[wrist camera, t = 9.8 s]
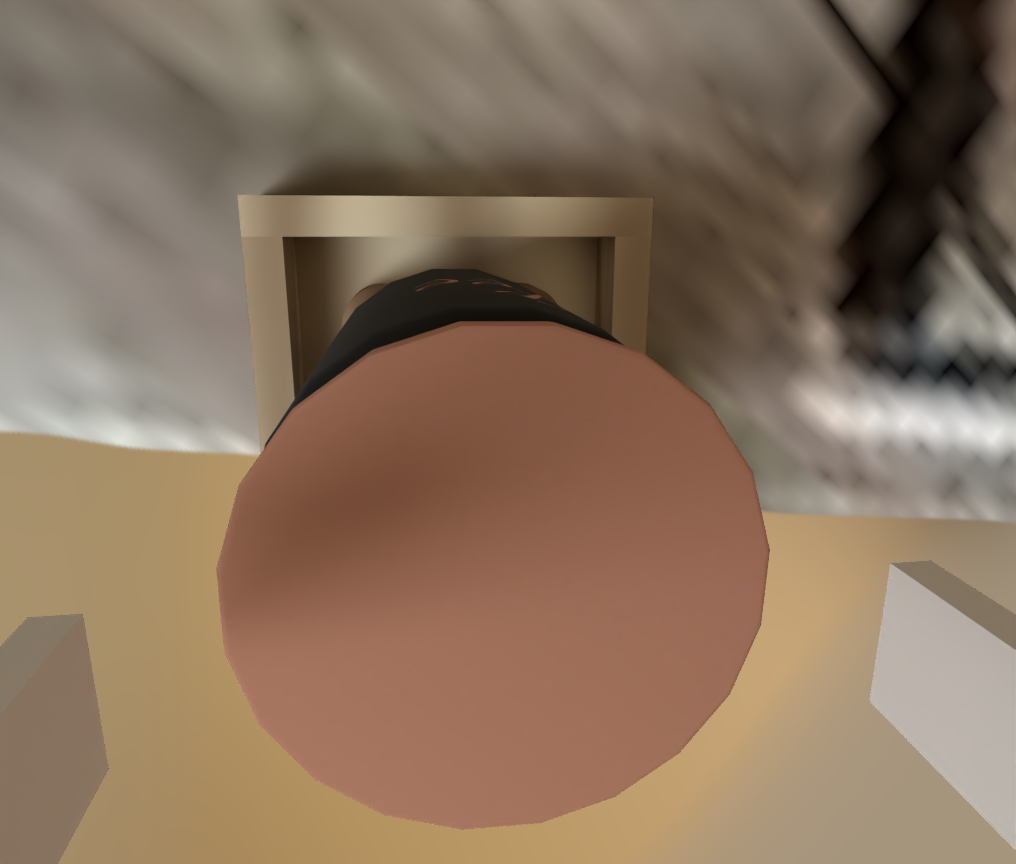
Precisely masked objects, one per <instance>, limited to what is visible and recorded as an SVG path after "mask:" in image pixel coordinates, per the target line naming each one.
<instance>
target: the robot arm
mask: <svg viewBox="0 0 1016 864" xmlns="http://www.w3.org/2000/svg"><path fill="white" fill-rule="evenodd" d="M870 702H871V703H872V704H873V705H874V706H875V707H876V708H877V709H878V710H879V711H880V712H881V713H882V715H883V716H884V717H886V718H887V720H888V721H889V722H890V723H891V724H893V726H894V727H895V728H896V729H897V730H898V731H899V732H900V733H901V734H902V735H903V736H904V737H905V738H906V739H907V740H908V741H909V742H910V743H911V744H912V745H913V746H914V747H915V748H916V749H917V750H918V751H919V752H920V753H921V754H922V755H923V756H924V757H925V758H926V759H927V760H928V761H929V762H930V763H931V764H932V766H933V767H934V768H935V769H936V770H937V771H938V772H939V773H940V774H941V775H942V776H943V777H944V778H945V779H946V780H947V781H948V782H949V783H950V784H951V785H952V786H953V787H954V788H955V789H956V790H957V791H958V792H959V793H960V794H961V795H962V796H963V797H964V798H965V799H966V800H967V801H968V802H969V803H970V804H971V805H972V806H973V807H974V808H975V809H976V810H977V811H978V813H980V814H981V816H982V817H983V818H985V820H987V822H988V823H990V825H991V826H992V827H993V828H994V829H995V830H996V831H997V832H998V833H999V834H1000V835H1001V836H1002V837H1003V838H1004V839H1005V840H1006V841H1007V842H1008V843H1009V844H1010V845H1011V846H1012V847H1013V848H1014V849H1015V850H1016V615H1015V614H1013V613H1012V612H1011V611H1009V610H1008V609H1006V608H1004V607H1003V606H1001V605H1000V604H998V603H996V602H995V601H993V600H992V599H990V598H989V597H987V596H985V595H984V594H982V593H981V592H979V591H978V590H976V589H975V588H973V587H971V586H969V585H968V584H967V583H965V582H964V581H962V580H960V579H959V578H957V577H956V576H954V575H952V574H951V573H949V572H948V571H946V570H945V569H943V568H942V567H940V566H938V565H937V564H935V563H934V562H932V561H919V562H903V563H891V564H890V570H889V576H888V583H887V590H886V596H885V603H884V610H883V616H882V623H881V629H880V636H879V643H878V649H877V656H876V662H875V669H874V675H873V682H872V689H871V695H870ZM108 769H109V768H108V762H107V756H106V750H105V744H104V739H103V733H102V726H101V721H100V714H99V709H98V703H97V697H96V691H95V685H94V679H93V673H92V667H91V661H90V655H89V649H88V643H87V637H86V631H85V625H84V619H83V614H75V615H60V616H43V617H28V618H27V619H26V620H25V621H24V622H23V623H22V624H21V625H20V626H19V627H18V628H17V629H16V630H15V631H14V632H13V634H12V635H11V636H10V637H9V638H8V639H7V640H6V641H5V642H4V643H3V644H2V645H1V646H0V864H58V862H59V860H60V859H61V857H62V855H63V853H64V851H65V849H66V847H67V846H68V843H69V842H70V840H71V838H72V836H73V834H74V832H75V831H76V829H77V827H78V825H79V823H80V821H81V819H82V818H83V816H84V814H85V812H86V810H87V808H88V806H89V804H90V803H91V800H92V799H93V797H94V795H95V793H96V791H97V790H98V788H99V786H100V784H101V782H102V780H103V778H104V776H105V775H106V773H107V771H108Z"/></svg>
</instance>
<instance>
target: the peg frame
mask: <svg viewBox="0 0 1016 864" xmlns="http://www.w3.org/2000/svg"><path fill="white" fill-rule="evenodd" d="M653 202H654V198H636V197H473V196H310V195H238V205H239V216H240V227H241V238H242V249H243V260H244V271H245V283H246V294H247V305H248V316H249V327H250V338H251V349H252V360H253V371H254V382H255V393H256V405H257V416H258V427H259V438H260V449H261V453H262V451H263V450H264V447H265V443H266V442H267V440H268V439H269V437H270V436H271V434H272V433H273V431H274V430H275V428H276V427H277V425H278V423H279V422H280V420H281V419H282V417H283V416H284V414H285V413H286V411H287V410H288V408H289V407H290V405H291V404H292V402H293V401H294V399H295V398H296V396H297V395H298V393H299V392H300V390H301V389H302V387H303V386H304V384H305V383H306V381H307V380H308V378H309V376H310V375H311V373H312V372H313V370H314V369H315V367H316V366H317V364H318V363H319V361H320V360H321V358H322V357H323V355H324V354H325V352H326V351H327V349H328V348H329V346H330V345H331V343H332V342H333V340H334V339H335V337H336V336H337V334H338V333H339V332H340V330H341V329H342V327H343V326H344V324H345V323H346V322H347V320H348V319H349V317H350V316H351V314H352V313H353V312H354V310H355V309H356V308H357V307H358V306H359V305H361V304H362V303H363V302H365V301H366V300H367V299H369V298H370V297H372V296H373V295H374V294H376V293H377V292H378V291H380V290H381V289H382V288H384V287H385V286H386V285H388V284H389V283H391V282H393V281H396V280H399V279H402V278H405V277H408V276H412V275H415V274H418V273H421V272H424V271H427V270H430V269H477V270H480V271H483V272H486V273H489V274H492V275H494V276H497V277H500V278H503V279H506V280H509V281H512V282H515V283H517V284H519V285H521V286H523V287H525V288H527V289H528V290H530V291H532V292H534V293H536V294H538V295H540V296H542V297H543V298H545V299H547V300H549V301H551V302H553V303H555V304H556V305H558V306H560V307H562V308H564V309H566V310H568V311H569V312H571V313H573V314H575V315H577V316H579V317H581V318H582V319H584V320H586V321H588V322H590V323H592V324H594V325H596V326H597V327H599V328H601V329H603V330H605V331H606V332H608V333H609V334H610V335H612V336H613V337H614V338H616V339H617V340H618V341H619V342H621V343H622V344H623V345H625V346H627V347H630V348H633V349H636V350H639V351H642V352H643V353H645V354H646V340H647V320H648V301H649V281H650V261H651V241H652V222H653Z"/></svg>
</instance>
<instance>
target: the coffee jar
mask: <svg viewBox="0 0 1016 864" xmlns="http://www.w3.org/2000/svg"><path fill="white" fill-rule="evenodd" d="M769 552H770V549H769V544H768V540H767V535H766V531H765V526H764V521H763V517H762V512H761V508H760V503H759V499H758V494H757V490H756V485H755V480H754V476H753V472H752V470H751V469H750V467H749V466H748V464H747V462H746V461H745V459H744V458H743V456H742V454H741V453H740V451H739V450H738V448H737V447H736V445H735V443H734V442H733V440H732V439H731V437H730V435H729V434H728V432H727V431H726V429H725V428H724V426H723V424H722V423H721V421H720V420H719V418H718V416H717V415H716V413H715V412H714V410H713V409H712V407H711V405H710V404H709V403H708V402H707V401H705V400H704V399H703V398H701V397H700V396H699V395H698V394H696V393H695V392H694V391H692V390H691V389H690V388H689V387H687V386H686V385H685V384H683V383H682V382H681V381H679V380H678V379H677V378H676V377H674V376H673V375H672V374H670V373H669V372H668V371H667V370H665V369H664V368H663V367H661V366H660V365H659V364H658V363H656V362H655V361H654V360H652V359H651V358H650V357H649V356H647V355H646V354H645V353H643V352H642V351H639V350H636V349H633V348H630V347H627V346H625V345H623V344H622V343H621V342H619V341H618V340H617V339H616V338H614V337H613V336H612V335H610V334H609V333H608V332H606V331H605V330H603V329H601V328H599V327H597V326H596V325H594V324H592V323H590V322H588V321H586V320H584V319H582V318H581V317H579V316H577V315H575V314H573V313H571V312H569V311H568V310H566V309H564V308H562V307H560V306H558V305H556V304H555V303H553V302H551V301H549V300H547V299H545V298H543V297H542V296H540V295H538V294H536V293H534V292H532V291H530V290H528V289H527V288H525V287H523V286H521V285H519V284H517V283H515V282H512V281H509V280H506V279H503V278H500V277H497V276H494V275H492V274H489V273H486V272H483V271H480V270H477V269H430V270H427V271H424V272H421V273H418V274H415V275H412V276H408V277H405V278H402V279H399V280H396V281H393V282H391V283H389V284H388V285H386V286H385V287H384V288H382V289H381V290H380V291H378V292H377V293H376V294H374V295H373V296H372V297H370V298H369V299H367V300H366V301H365V302H363V303H362V304H361V305H359V306H358V307H357V308H356V309H355V310H354V312H353V313H352V314H351V316H350V317H349V319H348V320H347V322H346V323H345V324H344V326H343V327H342V329H341V330H340V332H339V333H338V334H337V336H336V337H335V339H334V340H333V342H332V343H331V345H330V346H329V348H328V349H327V351H326V352H325V354H324V355H323V357H322V358H321V360H320V361H319V363H318V364H317V366H316V367H315V369H314V370H313V372H312V373H311V375H310V376H309V378H308V380H307V381H306V383H305V384H304V386H303V387H302V389H301V390H300V392H299V393H298V395H297V396H296V398H295V399H294V401H293V402H292V404H291V405H290V407H289V408H288V410H287V411H286V413H285V414H284V416H283V417H282V419H281V420H280V422H279V423H278V425H277V427H276V428H275V430H274V431H273V433H272V434H271V436H270V437H269V439H268V440H267V442H266V443H265V447H264V450H263V451H262V453H261V454H260V456H259V457H258V459H257V460H256V462H255V463H254V464H253V466H252V467H251V469H250V470H249V472H248V473H247V474H246V476H245V477H244V479H243V480H242V482H241V483H240V485H239V487H238V491H237V494H236V498H235V502H234V506H233V509H232V513H231V517H230V520H229V524H228V528H227V531H226V535H225V539H224V543H223V546H222V550H221V554H220V557H219V561H218V565H217V569H216V570H217V580H218V591H219V602H220V612H221V623H222V632H223V644H224V652H225V655H226V657H227V659H228V661H229V663H230V665H231V667H232V670H233V672H234V674H235V676H236V678H237V680H238V682H239V684H240V686H241V688H242V690H243V692H244V694H245V696H246V698H247V700H248V702H249V704H250V707H251V709H252V711H253V713H254V715H255V717H256V719H257V721H258V723H259V725H260V726H261V727H262V728H263V729H264V730H265V731H266V732H267V733H268V734H269V735H270V736H271V737H272V738H273V739H274V740H275V741H276V742H277V743H278V744H279V745H280V746H281V747H282V748H283V749H284V750H285V751H286V752H287V753H288V754H289V755H290V756H291V757H292V758H293V759H294V760H295V761H296V762H297V763H298V764H300V766H301V767H302V768H303V769H304V770H305V771H307V772H308V774H310V776H312V777H313V778H314V779H315V780H316V781H318V782H320V783H322V784H324V785H326V786H328V787H330V788H332V789H334V790H336V791H338V792H340V793H342V794H344V795H346V796H348V797H350V798H352V799H354V800H356V801H358V802H360V803H362V804H364V805H366V806H368V807H369V808H371V809H373V810H375V811H378V812H380V813H381V814H383V815H386V816H392V817H397V818H402V819H408V820H413V821H419V822H424V823H430V824H435V825H441V826H447V827H451V828H457V829H474V828H486V827H496V826H497V827H498V826H509V825H520V824H533V823H542V822H545V821H547V820H550V819H553V818H556V817H559V816H562V815H564V814H567V813H570V812H573V811H576V810H579V809H581V808H584V807H587V806H590V805H592V804H595V803H598V802H601V801H604V800H607V799H610V798H612V797H615V796H617V795H618V794H619V793H621V792H622V791H624V790H625V789H627V788H628V787H630V786H631V785H633V784H634V783H636V782H637V781H639V780H640V779H642V778H643V777H645V776H646V775H648V774H649V773H650V772H652V771H653V770H655V769H656V768H658V767H659V766H661V765H662V764H664V763H665V762H666V761H668V760H670V759H671V758H673V757H674V756H676V755H677V754H678V753H680V752H681V750H682V749H683V748H684V747H685V746H686V744H687V743H688V742H689V741H690V740H691V739H692V737H693V736H694V735H695V734H696V733H697V732H698V731H699V729H700V728H701V727H702V726H703V725H704V724H705V722H706V721H707V720H708V719H709V717H711V715H712V714H713V713H714V712H715V711H716V710H717V709H718V707H719V706H720V705H721V704H722V703H723V702H724V700H725V699H726V698H727V697H728V695H730V692H731V690H732V688H733V686H734V683H735V681H736V679H737V677H738V675H739V672H740V670H741V668H742V665H743V663H744V661H745V659H746V657H747V655H748V653H749V650H750V648H751V646H752V644H753V642H754V639H755V637H756V635H757V633H758V631H759V628H760V626H761V620H762V612H763V603H764V595H765V585H766V577H767V569H768V560H769Z"/></svg>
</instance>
